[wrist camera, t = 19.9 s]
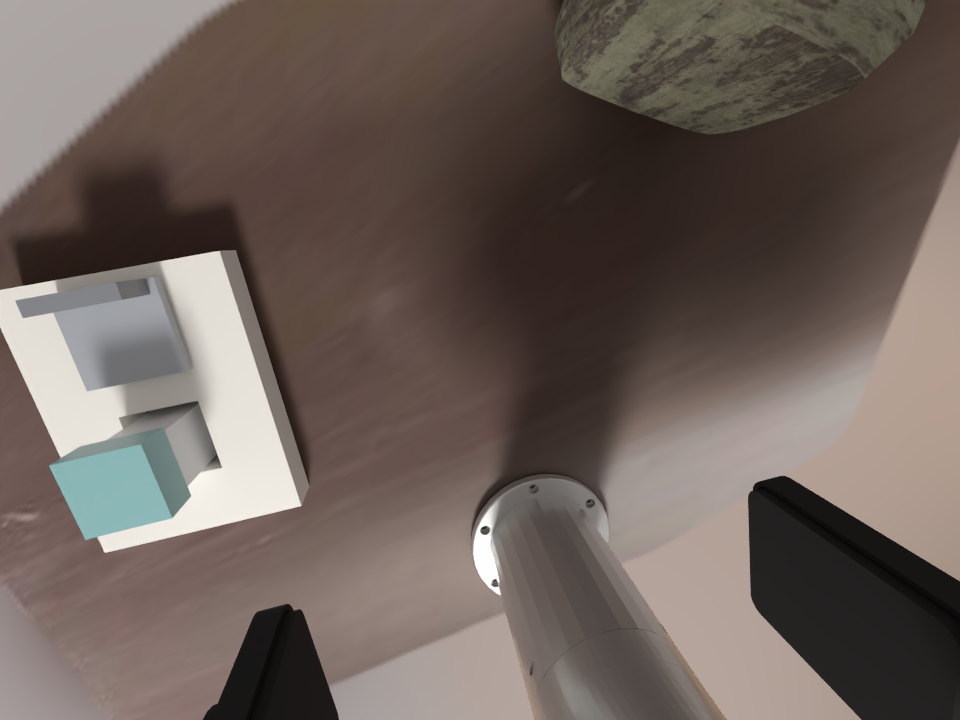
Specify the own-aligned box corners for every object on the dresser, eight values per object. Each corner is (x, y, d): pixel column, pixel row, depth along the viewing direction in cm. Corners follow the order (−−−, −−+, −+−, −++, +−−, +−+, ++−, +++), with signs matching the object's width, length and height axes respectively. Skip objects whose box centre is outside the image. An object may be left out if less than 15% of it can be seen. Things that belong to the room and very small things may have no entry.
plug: (209, 392, 35) (140, 444, 26) (231, 449, 36) (172, 518, 27) (143, 406, 34) (48, 465, 25) (167, 464, 36) (85, 539, 27)
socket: (309, 486, 38) (301, 505, 35) (128, 528, 36) (104, 552, 34) (235, 250, 33) (219, 250, 30) (22, 288, 31) (-16, 293, 28)
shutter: (192, 367, 31) (164, 384, 28) (94, 387, 31) (52, 407, 27) (159, 275, 30) (124, 280, 26) (55, 294, 29) (5, 302, 25)
